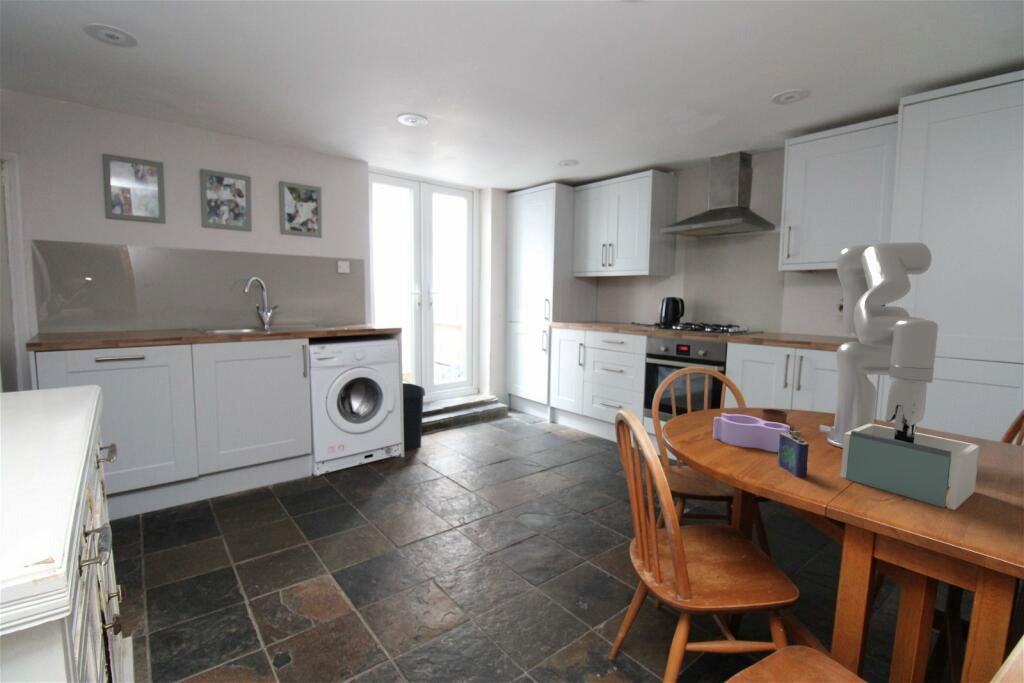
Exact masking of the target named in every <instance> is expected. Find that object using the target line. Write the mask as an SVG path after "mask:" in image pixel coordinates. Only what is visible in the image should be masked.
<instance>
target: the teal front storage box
mask: <svg viewBox="0 0 1024 683" xmlns="http://www.w3.org/2000/svg"><path fill="white" fill-rule="evenodd" d="M851 431H858V432H863V433H867V434H872V435H877V436H881V437H886V438H891V439H894V436H895V430H894V427H892V426H891V427H890V426H886V425H885V426H884V425H880V424H875V423H873V424H871V423H869V424H866V425H864V426H861V427H859V428H856V429H854V430H851ZM851 431H849V432H846V433H844V442H843V448H842V453H841V454H842V456H841V464H840V465H841V466H840V476H839V477H840V478H843V479H847V472H848V461H849V450H850V439H851ZM914 444H918V445H923V446H928V447H932V448H937V449H942V450H946V451H951V452H952V454H951V462H950V471H949V480H948V487H949V488H948V495H947V496H948V498H947V504H946V506H947V509H950V510H954V511H955V510H956V509H957V508H959V507H960V506H961V505H962V504H963V503H964V502H965V501H966V500H967V499H968V498H970V496H972V495H973V494H974V493H975V490H976V481H977V472H978V464H979V459H980V458H979V457H980V450H981V449H980V448H981V444H977V443H970V442H966V441H962V440H961V441H960V440H956V439H951V438H946V437H941V436H935V435H930V434H926V433H921V432H916V431H915V435H914Z"/></svg>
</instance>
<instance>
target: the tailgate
mask: <svg viewBox="0 0 1024 683" xmlns="http://www.w3.org/2000/svg"><path fill="white" fill-rule="evenodd" d="M951 454H952V452H951V451H946V450H942V449H937V448H932V447H928V446H923V445H918V444H914V443H909V442H905V441H900V440H895V439H891V438H886V437H881V436H877V435H872V434H867V433H863V432H858V431H851V439H850V450H849V461H848V472H847V478H846V480H847V481H850V482H851V481H852V482H854V483H858V484H863V485H864V486H869V487H872V488H876V489H878V490H883V491H886V492H889V493H893V494H896V495H899V496H903V497H906V498H910V499H913V500H917V501H920V502H924V503H926V504H931V505H933V506H938V507H939V508H940V507H941V508H945V507H946V506H947V504H946V503H947V496H948V490H949V488H948V480H949V471H950V462H951Z"/></svg>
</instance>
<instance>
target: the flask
mask: <svg viewBox="0 0 1024 683" xmlns="http://www.w3.org/2000/svg"><path fill="white" fill-rule="evenodd" d="M799 433H801V431H799V430H792V431H790V432H789V434H787V433H780V434H779V450H778V452H777V453H778V454H777V464H776V465H777V466H778V467H780V468H782V469H785V470H786V471H788V472H789V473H791V474H792V475H793V476H794V477H795V478H799V479H803V480H804V479H807V477H808V476H807V474H808V460H809V443H808V442H807V441H805V439H803V438H802V437H801V435H799Z"/></svg>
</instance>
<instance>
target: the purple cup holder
mask: <svg viewBox="0 0 1024 683" xmlns="http://www.w3.org/2000/svg"><path fill="white" fill-rule="evenodd" d="M712 428H713V429H712V430H713V431H712V439H713V440H719V441H721V442H723V443H725V444H727V445H731V446H734V447H735V446H736V447H741V448H756V449H761V450H764V451H768V452H773V453H778V450H779V434H780V433H787V434H790V433H791V432H790V426H788V425H785V424H782V423H777V422H769V421H764V420H762V418H759V417H755V416H751V415H746V414H739V413H738V414H735V413H733V414H731V413H730V414H729V413H725V412H721V416H714V417H713V427H712Z"/></svg>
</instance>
